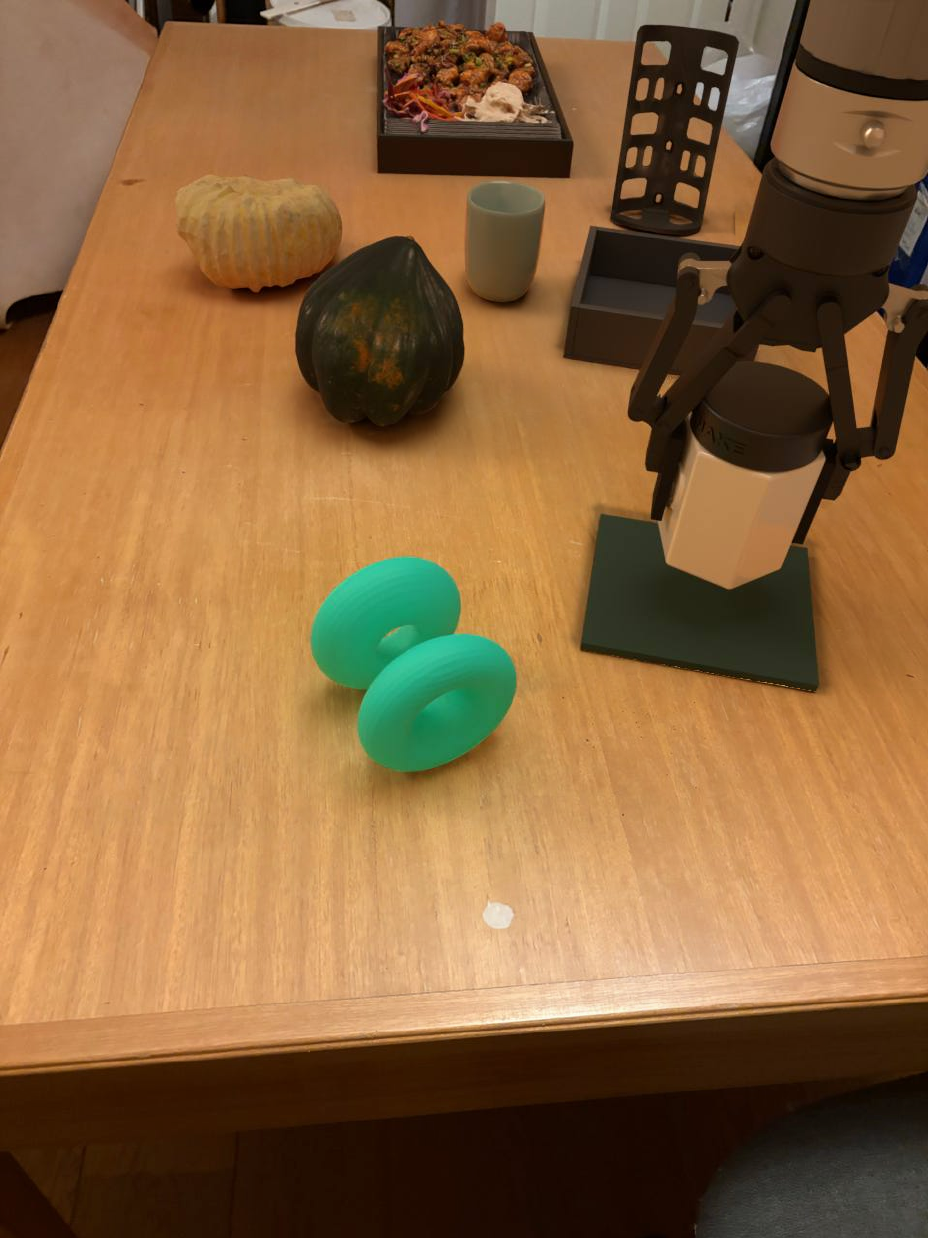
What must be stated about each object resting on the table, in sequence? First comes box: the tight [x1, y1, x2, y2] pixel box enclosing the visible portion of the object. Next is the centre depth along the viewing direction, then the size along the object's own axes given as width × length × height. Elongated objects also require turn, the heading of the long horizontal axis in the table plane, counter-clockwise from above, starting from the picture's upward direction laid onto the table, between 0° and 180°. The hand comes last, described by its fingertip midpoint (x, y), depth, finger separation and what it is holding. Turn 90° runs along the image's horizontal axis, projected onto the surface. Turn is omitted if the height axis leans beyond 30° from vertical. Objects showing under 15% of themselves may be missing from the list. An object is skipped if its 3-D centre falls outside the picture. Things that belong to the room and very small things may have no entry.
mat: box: [579, 513, 820, 692], centre depth 68 cm, size 16×14×1 cm
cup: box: [463, 180, 546, 303], centre depth 94 cm, size 8×8×10 cm
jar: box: [657, 360, 834, 590], centre depth 60 cm, size 9×8×12 cm
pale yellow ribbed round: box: [174, 173, 343, 293], centre depth 96 cm, size 17×11×15 cm
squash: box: [294, 235, 466, 427], centre depth 79 cm, size 14×15×15 cm
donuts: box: [309, 556, 518, 773], centre depth 56 cm, size 10×10×10 cm
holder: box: [609, 24, 740, 236], centre depth 105 cm, size 11×8×20 cm
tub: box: [562, 225, 760, 376], centre depth 93 cm, size 18×18×5 cm
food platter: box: [376, 19, 575, 179], centre depth 130 cm, size 45×25×10 cm, turn 4°
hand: (725, 518), depth 62 cm, fingers closed on jar, 8 cm apart
